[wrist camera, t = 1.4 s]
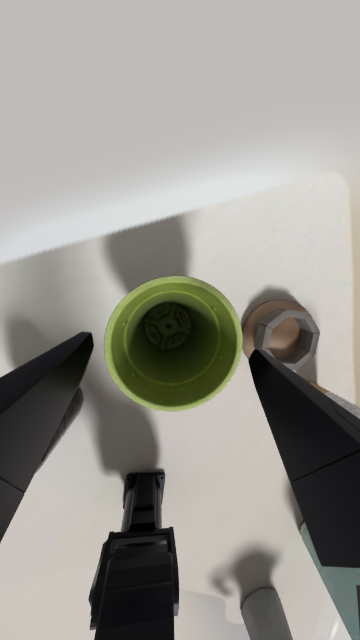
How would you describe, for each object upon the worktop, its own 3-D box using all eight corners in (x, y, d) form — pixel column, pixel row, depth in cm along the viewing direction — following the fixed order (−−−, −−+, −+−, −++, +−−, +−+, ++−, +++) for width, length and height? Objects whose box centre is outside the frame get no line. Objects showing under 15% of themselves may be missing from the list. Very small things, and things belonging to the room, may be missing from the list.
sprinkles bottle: (320, 397, 30) (446, 475, 17) (299, 407, 30) (411, 494, 17) (315, 377, 29) (444, 441, 16) (294, 386, 29) (407, 460, 16)
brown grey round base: (297, 371, 29) (316, 381, 25) (235, 367, 27) (247, 377, 23) (312, 304, 27) (334, 305, 24) (248, 295, 25) (262, 295, 22)
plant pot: (181, 374, 26) (198, 432, 15) (114, 339, 24) (75, 375, 13) (220, 312, 25) (268, 323, 14) (155, 270, 23) (152, 244, 12)
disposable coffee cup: (332, 499, 34) (464, 651, 19) (334, 537, 36) (457, 703, 21) (288, 516, 33) (392, 691, 18) (292, 554, 35) (391, 742, 20)
